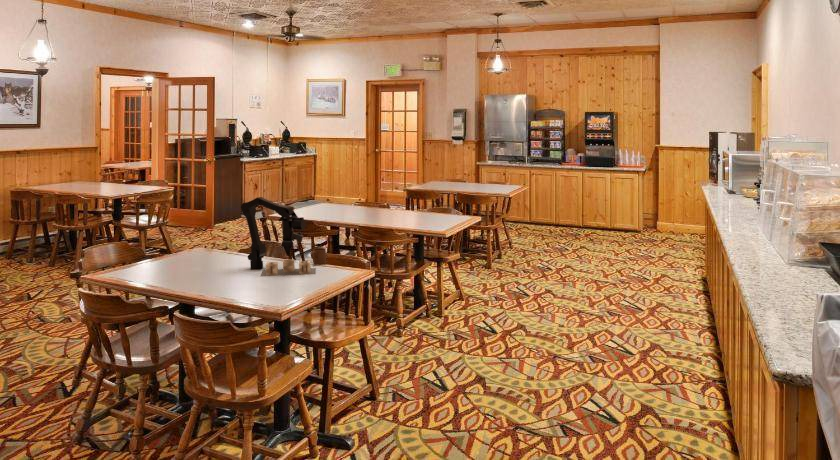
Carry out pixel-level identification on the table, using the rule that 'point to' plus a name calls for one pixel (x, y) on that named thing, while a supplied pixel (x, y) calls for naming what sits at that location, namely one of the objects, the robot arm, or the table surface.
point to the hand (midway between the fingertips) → (288, 256)
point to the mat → (296, 272)
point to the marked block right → (304, 267)
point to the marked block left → (271, 268)
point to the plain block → (288, 265)
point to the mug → (319, 256)
